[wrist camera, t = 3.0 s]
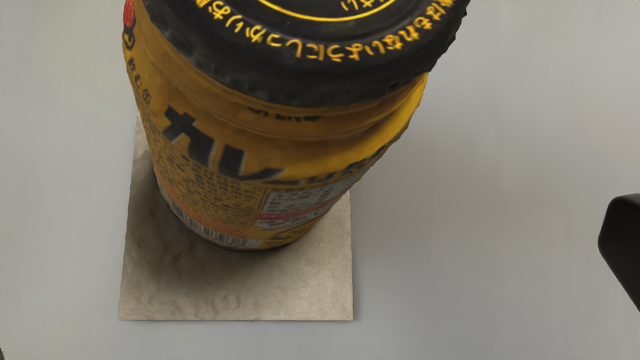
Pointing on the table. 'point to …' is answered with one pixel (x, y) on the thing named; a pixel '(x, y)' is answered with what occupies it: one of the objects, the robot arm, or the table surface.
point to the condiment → (262, 146)
